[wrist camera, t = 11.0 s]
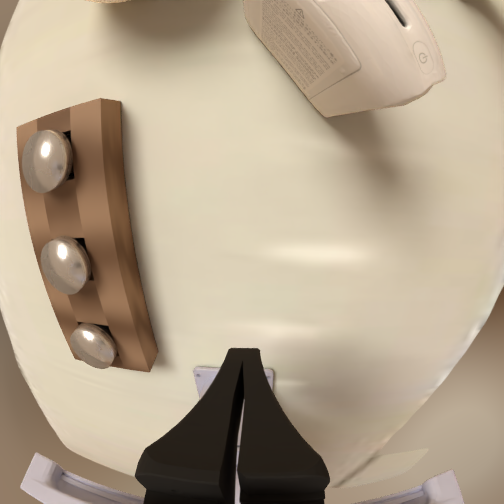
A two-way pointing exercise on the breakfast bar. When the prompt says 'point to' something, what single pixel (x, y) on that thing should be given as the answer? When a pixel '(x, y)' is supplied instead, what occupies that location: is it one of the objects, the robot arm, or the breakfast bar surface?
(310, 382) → the breakfast bar surface
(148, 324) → the bar
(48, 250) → the knob middle
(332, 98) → the photo printer
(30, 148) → the knob
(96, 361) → the knob
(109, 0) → the lidded jar
